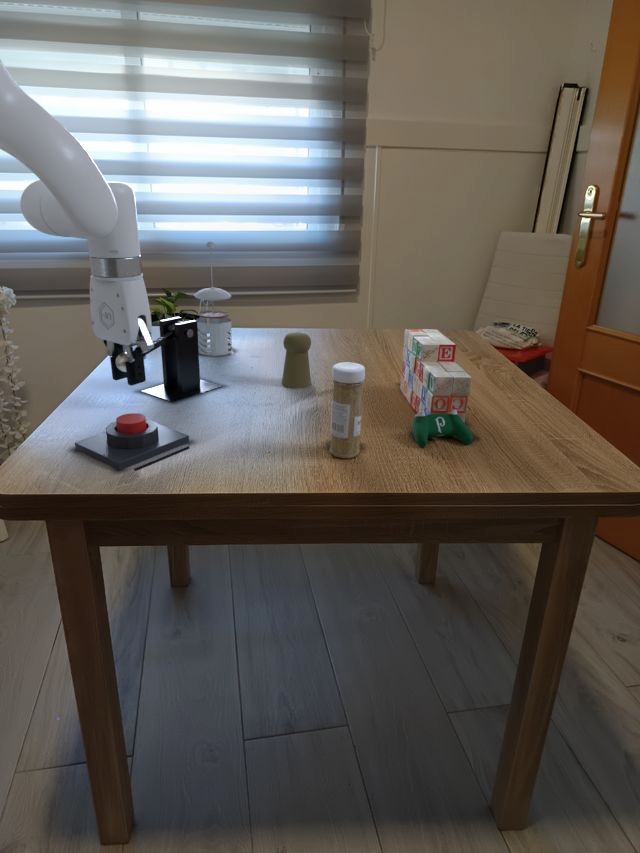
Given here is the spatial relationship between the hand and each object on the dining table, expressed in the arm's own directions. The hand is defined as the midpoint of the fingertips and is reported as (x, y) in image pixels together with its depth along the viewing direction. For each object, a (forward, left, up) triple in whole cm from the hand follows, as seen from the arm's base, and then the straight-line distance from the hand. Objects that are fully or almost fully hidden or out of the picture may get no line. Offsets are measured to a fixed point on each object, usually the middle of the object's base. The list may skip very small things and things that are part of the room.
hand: (129, 379), depth 96 cm
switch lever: (+5, +2, +3) cm, 7 cm away
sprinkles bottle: (+21, -33, -6) cm, 39 cm away
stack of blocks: (+46, -26, -6) cm, 53 cm away
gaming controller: (+37, -37, -6) cm, 52 cm away
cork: (+31, -5, -6) cm, 31 cm away
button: (-5, -17, -2) cm, 18 cm away
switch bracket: (+11, +3, -6) cm, 12 cm away
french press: (+28, +25, -6) cm, 38 cm away
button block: (-5, -17, -6) cm, 18 cm away
